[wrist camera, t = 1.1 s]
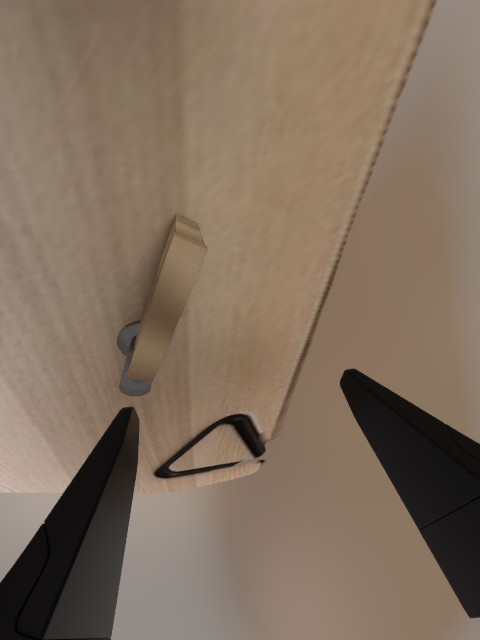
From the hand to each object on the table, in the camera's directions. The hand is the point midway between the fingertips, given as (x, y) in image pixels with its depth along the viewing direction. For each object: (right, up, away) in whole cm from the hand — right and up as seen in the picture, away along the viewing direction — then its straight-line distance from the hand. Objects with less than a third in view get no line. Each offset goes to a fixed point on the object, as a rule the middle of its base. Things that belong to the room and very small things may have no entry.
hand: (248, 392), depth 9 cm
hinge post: (-9, +1, +12) cm, 15 cm away
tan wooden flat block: (-6, +6, +9) cm, 12 cm away
